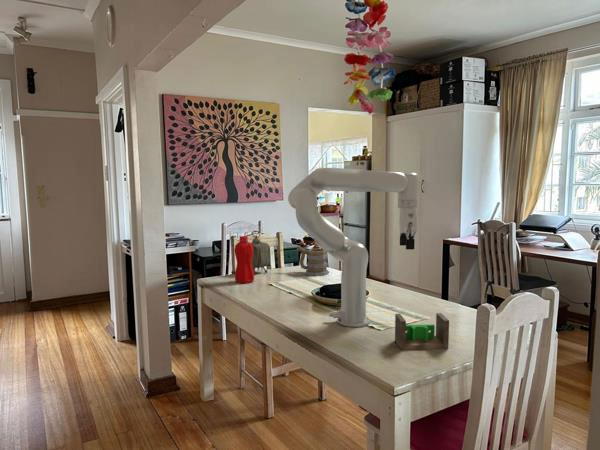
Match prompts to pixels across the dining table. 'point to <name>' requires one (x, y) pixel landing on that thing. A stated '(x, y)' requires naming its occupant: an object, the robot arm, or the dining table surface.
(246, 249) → the water bottle
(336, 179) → the robot arm
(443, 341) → the bracket
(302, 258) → the tankard
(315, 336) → the dining table surface
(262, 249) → the grey bag
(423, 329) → the pipe clamp
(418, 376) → the dining table surface
